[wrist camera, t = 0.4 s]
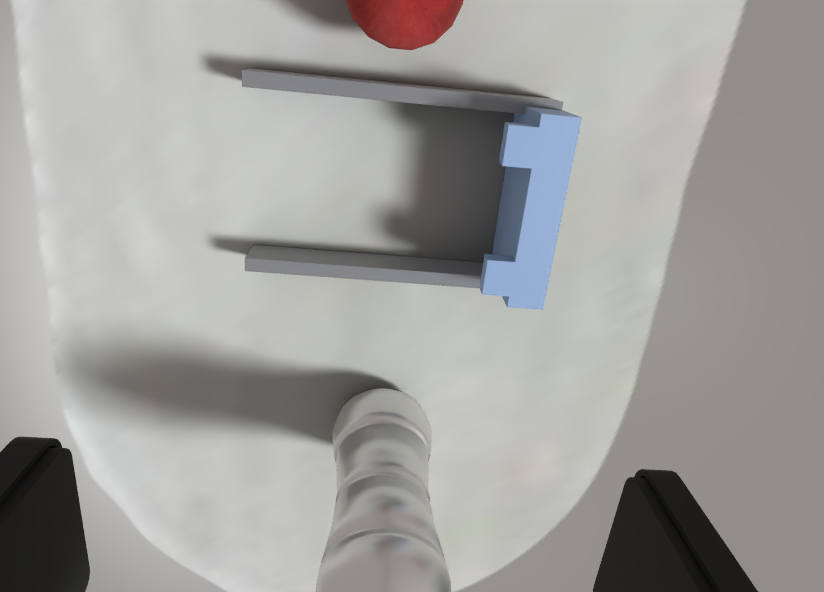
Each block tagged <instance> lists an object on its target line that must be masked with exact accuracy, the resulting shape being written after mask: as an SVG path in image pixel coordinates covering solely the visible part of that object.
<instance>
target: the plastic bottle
mask: <svg viewBox="0 0 824 592" xmlns="http://www.w3.org/2000/svg"><path fill="white" fill-rule="evenodd" d="M332 439H333V450H334V457H335V461H336V467H337V497H336V504H335V509H334V515H333V522H332V527H331V530H330V534H329V537H328V541H327V544H326V548H325V551H324V555H323V558H322V562H321V565H320V568H319V574H318V579H317V584H316V592H451V581H450V576H449V572H448V567H447V564H446V561H445V558H444V554H443V551H442V548H441V545H440V541H439V538H438V535H437V532H436V528H435V525H434V519H433V514H432V508H431V504H430V497H429V492H428V463H429V458H430V453H431V443H432V430H431V427H430V424H429V421H428V419H427V416H426V414H425V412H424V410H423V408H422V407H421V405H420V404H419V403H418V402H417V401H416V400H415V399H413V398H412V397H411V396H409V395H407V394H405V393H403V392H400V391H397V390H393V389H386V388H379V389H372V390H368V391H365V392H362V393H360V394H357V395H356V396H354V397H353V398H351V399H350V400H349V401H348V402H347V403H346V404H345V405H344V406H343V408H342V409H341V411H340V413H339V415H338V418H337V420H336V423H335V426H334V428H333V435H332Z"/></svg>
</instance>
